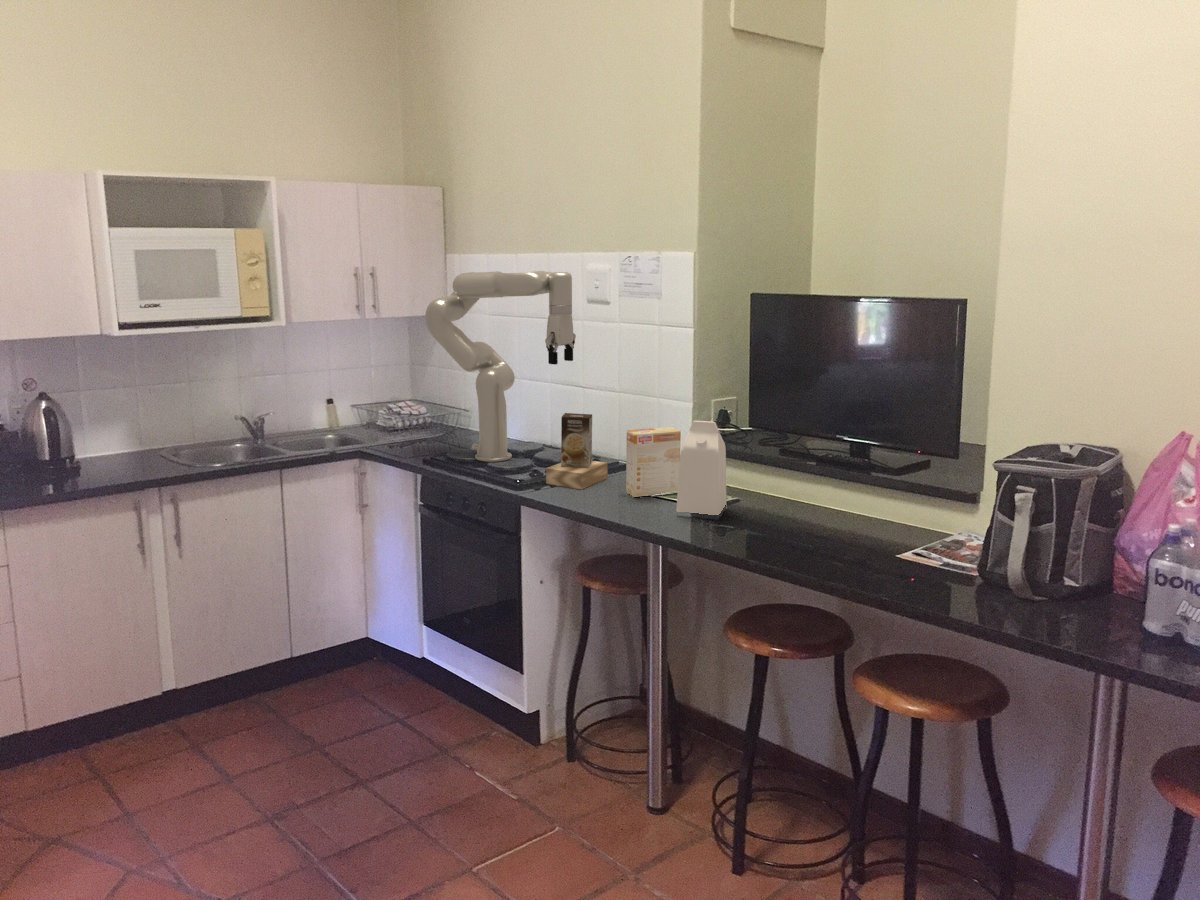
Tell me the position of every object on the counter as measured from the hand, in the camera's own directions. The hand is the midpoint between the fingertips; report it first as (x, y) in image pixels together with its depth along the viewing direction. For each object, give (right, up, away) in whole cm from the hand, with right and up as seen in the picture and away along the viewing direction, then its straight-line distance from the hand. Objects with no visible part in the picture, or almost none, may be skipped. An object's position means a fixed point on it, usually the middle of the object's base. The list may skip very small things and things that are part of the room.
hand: (560, 362), depth 320 cm
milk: (+42, -47, -49) cm, 80 cm away
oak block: (+6, -39, -16) cm, 42 cm away
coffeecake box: (+29, -42, -30) cm, 59 cm away
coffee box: (+6, -34, -17) cm, 38 cm away
